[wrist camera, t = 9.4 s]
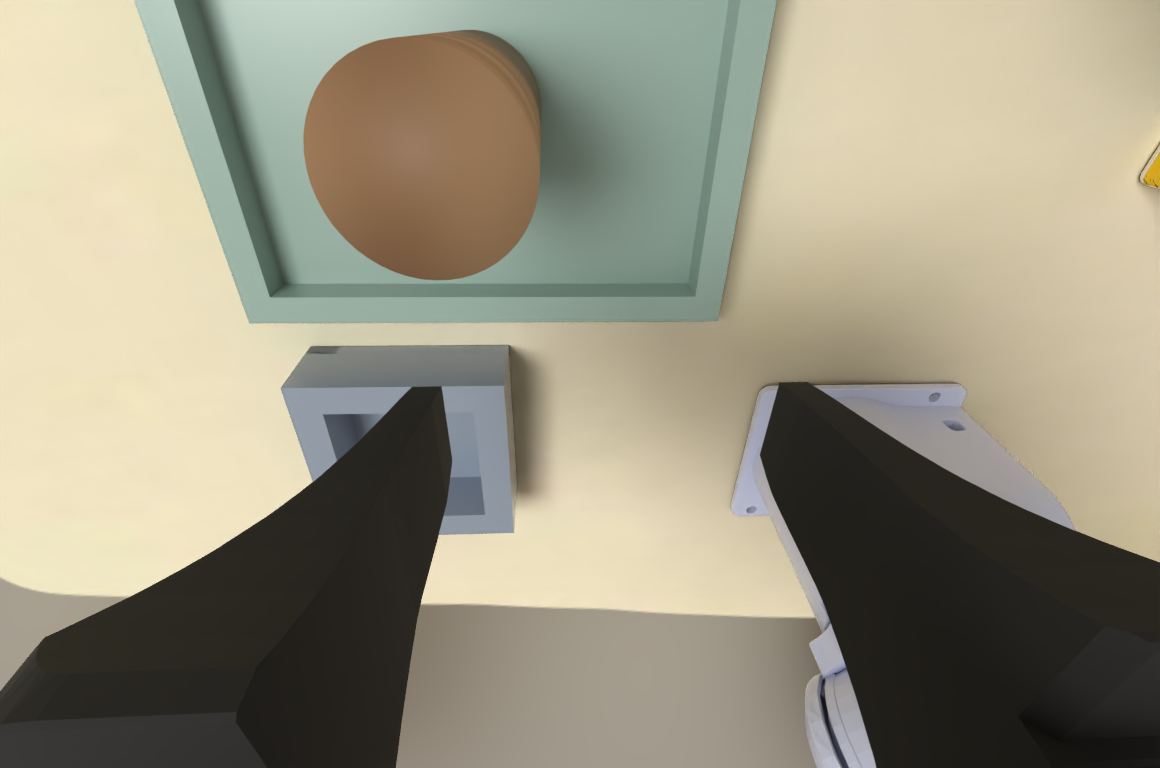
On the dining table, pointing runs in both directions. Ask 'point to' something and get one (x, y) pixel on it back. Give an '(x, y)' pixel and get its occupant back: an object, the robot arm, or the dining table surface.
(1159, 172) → the medicine bottle
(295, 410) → the grey square recessed block
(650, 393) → the dining table surface
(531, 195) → the dowel
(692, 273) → the tray
